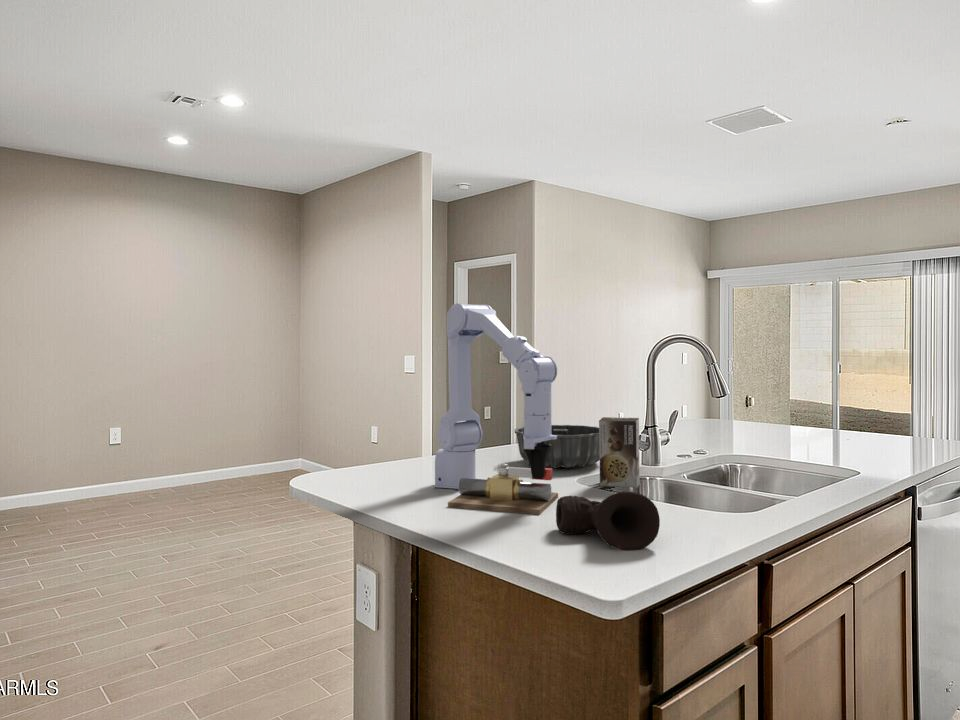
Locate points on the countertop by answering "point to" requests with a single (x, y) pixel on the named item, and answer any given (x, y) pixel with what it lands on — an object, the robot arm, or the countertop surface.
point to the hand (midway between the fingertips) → (538, 478)
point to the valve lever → (522, 472)
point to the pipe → (611, 519)
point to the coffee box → (619, 452)
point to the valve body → (505, 488)
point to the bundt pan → (568, 446)
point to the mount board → (502, 504)
